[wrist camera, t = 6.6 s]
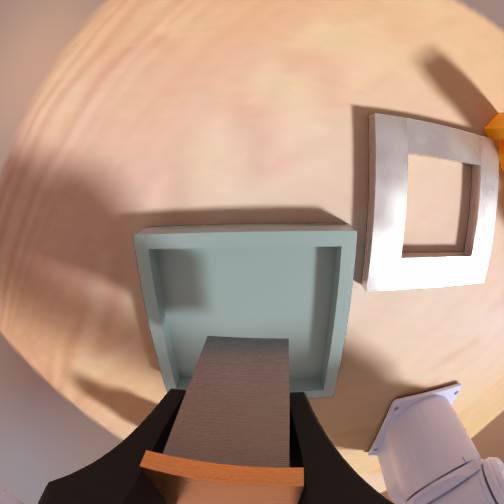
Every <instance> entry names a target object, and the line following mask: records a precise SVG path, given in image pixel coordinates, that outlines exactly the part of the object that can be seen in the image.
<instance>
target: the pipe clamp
mask: <svg viewBox="0 0 504 504" xmlns="http://www.w3.org/2000/svg"><path fill="white" fill-rule="evenodd" d="M484 130H485V132H486V134H487V136H488V138H491V139H494V140H497V141H499V163H500V166H501V168H502V171H503V173H504V113H498V114H497V115H496V116H495V117H494V118H493V119H492V120H491V122H490V123H489V124H488V125H487V126H486V127H485V128H484Z"/></svg>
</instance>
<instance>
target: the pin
mask: <svg viewBox="0 0 504 504" xmlns="http://www.w3.org/2000/svg"><path fill="white" fill-rule="evenodd" d="M289 438H290V387H289V339H283V338H242V337H221V336H207V339H206V341H205V344H204V346H203V349H202V352H201V354H200V357H199V359H198V362H197V365H196V367H195V370H194V372H193V375H192V378H191V380H190V383H189V385H188V388H187V391H186V393H185V396H184V399H183V401H182V404H181V406H180V409H179V412H178V414H177V417H176V420H175V422H174V425H173V428H172V430H171V433H170V436H169V438H168V441H167V444H166V446H165V449H164V452H163V454H160V453H156V452H152V451H148V450H146V452H145V454H144V457H143V459H142V461H141V464H140V468H141V469H142V470H143V472H144V473H145V474H146V476H147V477H148V478H149V480H150V481H151V482H152V484H153V485H154V486H155V487H156V489H157V490H158V491H159V492H160V494H161V495H162V496H163V497H164V498H165V500H166V501H167V502H168V503H169V504H298V502H299V499H300V496H301V493H302V490H303V487H304V467H302V468H289Z"/></svg>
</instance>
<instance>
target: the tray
mask: <svg viewBox="0 0 504 504" xmlns="http://www.w3.org/2000/svg"><path fill="white" fill-rule="evenodd" d="M133 238H134V245H135V252H136V258H137V265H138V271H139V277H140V282H141V288H142V293H143V298H144V303H145V308H146V313H147V318H148V322H149V326H150V331H151V335H152V339H153V343H154V347H155V351H156V355H157V359H158V363H159V366H160V370H161V373H162V377H163V380H164V384H165V387H166V390H167V393H168V391H169V390H170V389H171V388H173V389H183V390H186V391H187V388H188V385H189V383H190V380H191V378H192V375H193V372H194V370H195V367H196V365H197V362H198V359H199V357H200V354H201V352H202V349H203V346H204V344H205V341H206V339H207V336H221V337H242V338H283V339H289V387H290V392H304V393H306V396H307V398H308V399H312V398H325V397H333V396H334V392H335V387H336V383H337V378H338V373H339V368H340V363H341V358H342V352H343V347H344V341H345V335H346V329H347V322H348V316H349V309H350V301H351V294H352V285H353V276H354V267H355V256H356V244H357V230H356V229H354V228H353V227H352V226H350V225H349V224H348V223H276V224H222V225H188V226H162V227H145V228H144V229H142V230H140V231H139V232H137V233H136V234H134V235H133Z"/></svg>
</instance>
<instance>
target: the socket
mask: <svg viewBox="0 0 504 504" xmlns="http://www.w3.org/2000/svg"><path fill="white" fill-rule="evenodd" d="M368 121H369V198H368V218H367V233H366V245H365V256H364V265H363V274H362V282H361V285H362V286H363V288H364V289H365V291H366V292H369V291H386V290H402V289H416V288H429V287H440V286H452V285H462V284H472V283H481V282H484V279H485V275H486V271H487V266H488V261H489V256H490V251H491V246H492V240H493V233H494V226H495V218H496V209H497V198H498V183H499V141H497V140H494V139H491V138H488V137H485V136H481V135H478V134H475V133H471V132H467V131H464V130H460V129H456V128H452V127H448V126H444V125H440V124H435V123H431V122H426V121H421V120H416V119H411V118H405V117H399V116H393V115H386V114H379V113H373V114H371V115H368ZM408 154H411V155H418V156H425V157H432V158H438V159H444V160H450V161H455V162H461V163H466V164H471V165H472V184H471V199H470V211H469V220H468V228H467V235H466V242H465V248H464V252H424V253H402V246H403V237H404V227H405V216H406V202H407V182H408Z"/></svg>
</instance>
